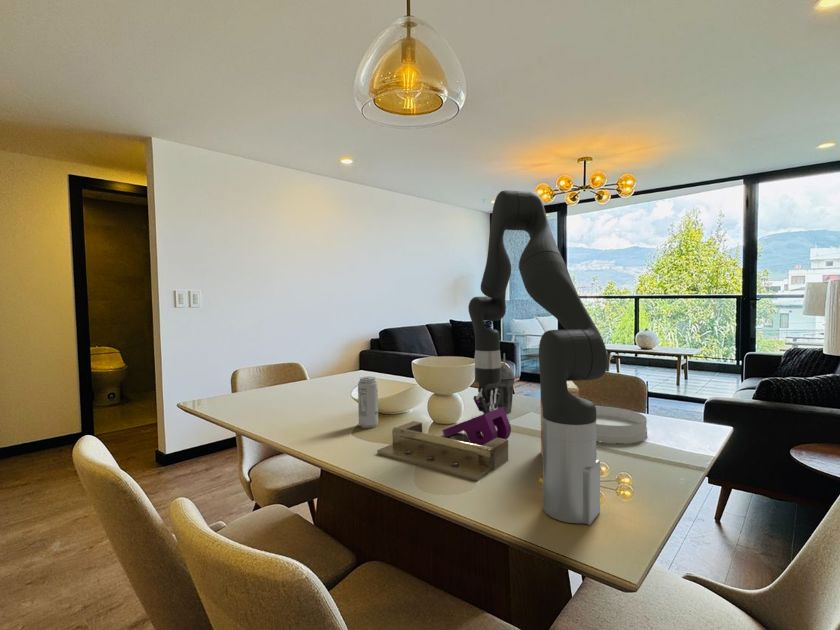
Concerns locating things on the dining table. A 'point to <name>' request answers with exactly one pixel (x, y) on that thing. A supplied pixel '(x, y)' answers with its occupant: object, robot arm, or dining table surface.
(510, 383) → the beverage cup
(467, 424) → the mounting bracket
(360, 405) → the energy drink can
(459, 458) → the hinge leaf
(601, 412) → the dish
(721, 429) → the dining table surface
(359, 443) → the dining table surface
